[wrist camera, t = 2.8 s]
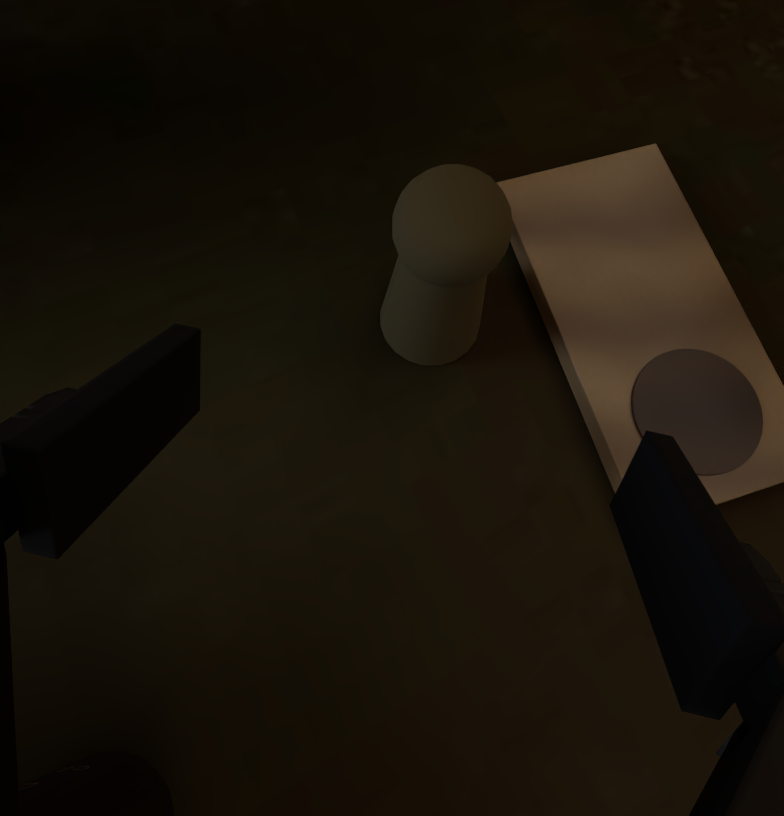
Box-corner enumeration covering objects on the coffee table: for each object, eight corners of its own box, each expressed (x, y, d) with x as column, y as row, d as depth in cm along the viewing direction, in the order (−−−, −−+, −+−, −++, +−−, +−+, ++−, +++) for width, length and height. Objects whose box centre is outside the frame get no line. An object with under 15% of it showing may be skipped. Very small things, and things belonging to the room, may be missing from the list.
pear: (485, 281, 33) (537, 150, 23) (474, 373, 32) (525, 278, 21) (387, 267, 33) (394, 129, 23) (372, 357, 32) (371, 255, 21)
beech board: (491, 197, 35) (497, 179, 33) (645, 159, 36) (657, 140, 34) (629, 531, 29) (645, 529, 28) (806, 472, 31) (830, 467, 29)
